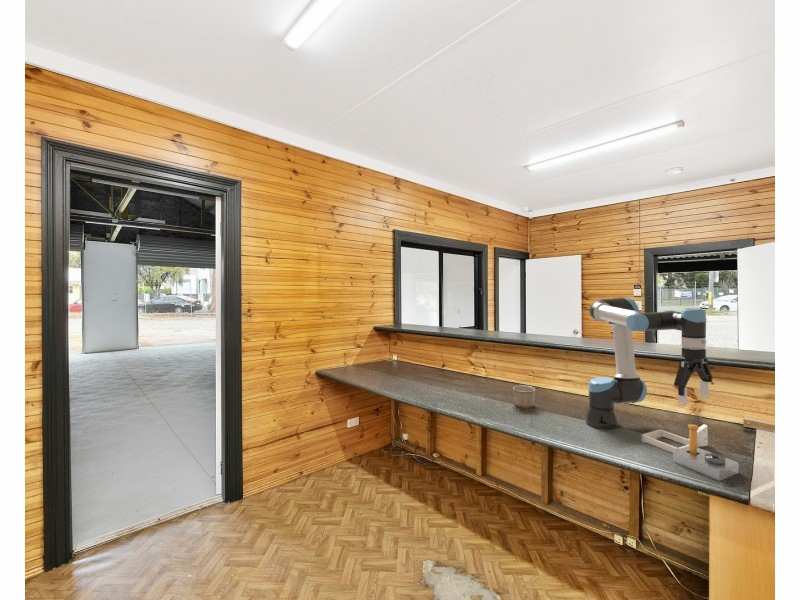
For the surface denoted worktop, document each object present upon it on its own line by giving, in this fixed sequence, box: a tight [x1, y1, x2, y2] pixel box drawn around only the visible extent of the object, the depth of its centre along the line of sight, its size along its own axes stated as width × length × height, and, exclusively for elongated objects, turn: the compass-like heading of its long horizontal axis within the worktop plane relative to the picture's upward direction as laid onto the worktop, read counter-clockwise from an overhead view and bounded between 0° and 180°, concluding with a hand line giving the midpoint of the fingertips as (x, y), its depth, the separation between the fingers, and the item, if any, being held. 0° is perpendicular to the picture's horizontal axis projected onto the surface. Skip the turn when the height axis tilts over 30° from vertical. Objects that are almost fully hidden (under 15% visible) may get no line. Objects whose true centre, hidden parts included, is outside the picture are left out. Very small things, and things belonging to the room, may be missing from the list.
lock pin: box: [687, 423, 699, 456], centre depth 147 cm, size 3×3×15 cm
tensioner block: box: [672, 446, 740, 482], centre depth 144 cm, size 16×12×8 cm
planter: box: [512, 384, 536, 409], centre depth 222 cm, size 13×13×10 cm
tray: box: [640, 428, 699, 454], centre depth 163 cm, size 16×13×4 cm
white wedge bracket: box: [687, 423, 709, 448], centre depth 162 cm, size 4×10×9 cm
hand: (693, 400), depth 146 cm, fingers open, 13 cm apart
